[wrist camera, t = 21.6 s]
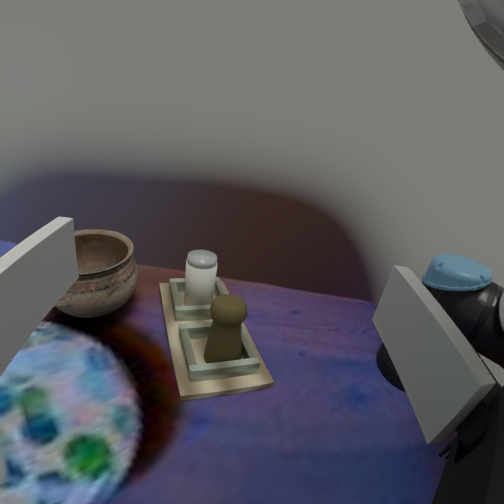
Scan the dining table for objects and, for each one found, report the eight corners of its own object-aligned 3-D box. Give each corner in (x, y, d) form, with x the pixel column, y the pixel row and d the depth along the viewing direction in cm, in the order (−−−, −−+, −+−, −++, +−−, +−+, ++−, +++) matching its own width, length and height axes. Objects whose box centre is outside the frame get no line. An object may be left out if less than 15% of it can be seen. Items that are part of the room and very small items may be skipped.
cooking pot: (88, 266, 63) (84, 217, 58) (158, 284, 62) (159, 231, 57) (23, 327, 40) (6, 268, 35) (104, 362, 40) (91, 299, 34)
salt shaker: (209, 294, 60) (214, 249, 56) (215, 310, 55) (221, 263, 51) (182, 295, 58) (184, 249, 54) (186, 312, 53) (189, 264, 49)
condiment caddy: (222, 285, 66) (224, 271, 64) (272, 387, 42) (277, 371, 40) (159, 288, 61) (159, 273, 59) (180, 400, 37) (180, 385, 35)
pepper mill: (216, 339, 48) (222, 283, 44) (248, 354, 46) (259, 298, 42) (195, 358, 43) (198, 301, 39) (229, 376, 41) (238, 318, 37)
